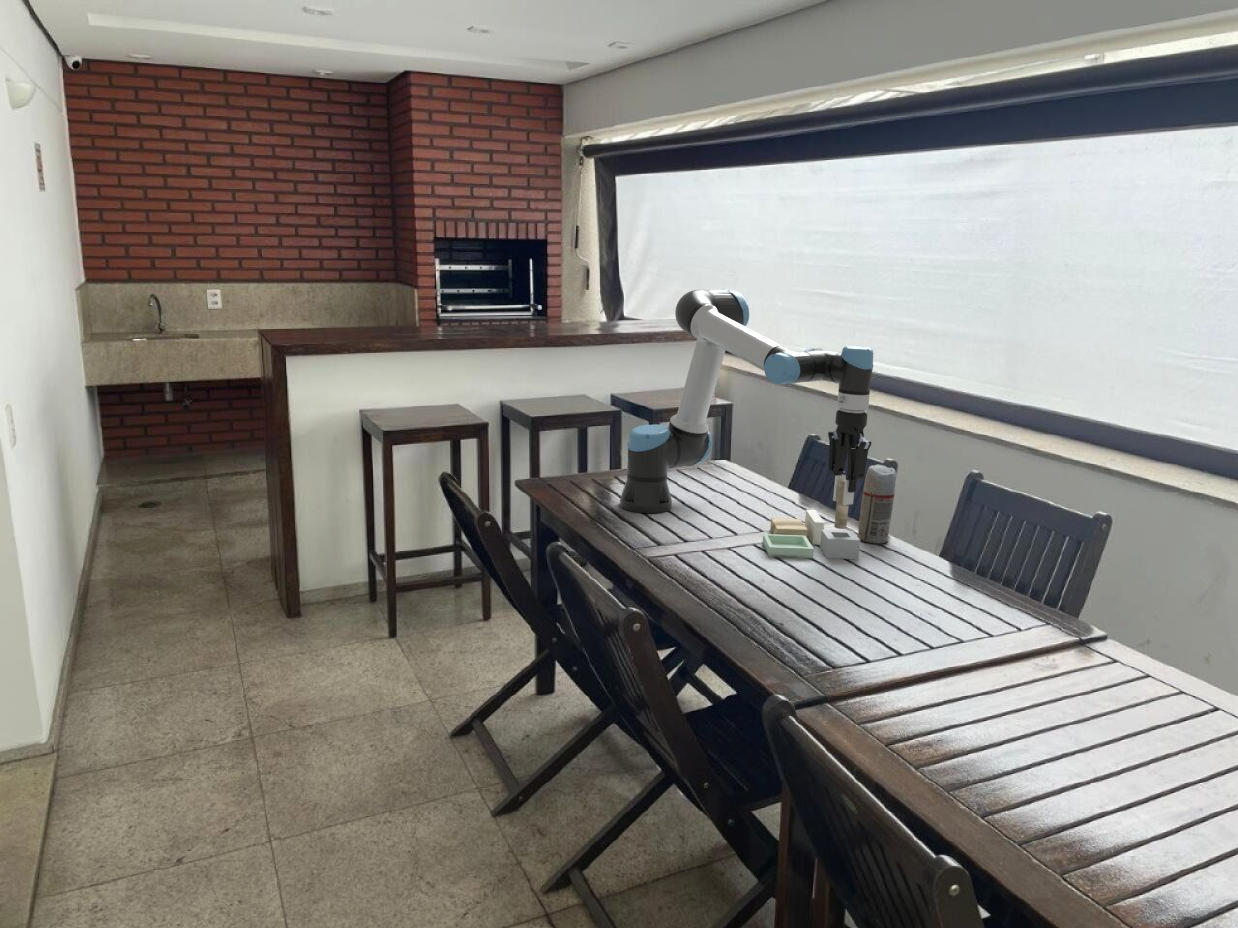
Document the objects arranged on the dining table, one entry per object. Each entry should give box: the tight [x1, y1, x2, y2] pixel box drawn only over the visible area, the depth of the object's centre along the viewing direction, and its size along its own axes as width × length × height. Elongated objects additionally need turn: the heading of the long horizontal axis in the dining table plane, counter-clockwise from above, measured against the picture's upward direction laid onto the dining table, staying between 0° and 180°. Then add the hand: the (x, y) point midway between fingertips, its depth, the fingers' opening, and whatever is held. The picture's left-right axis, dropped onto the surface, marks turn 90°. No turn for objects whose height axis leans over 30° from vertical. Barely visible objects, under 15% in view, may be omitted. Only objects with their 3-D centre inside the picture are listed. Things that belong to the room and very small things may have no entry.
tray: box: [762, 533, 815, 559], centre depth 246 cm, size 11×11×2 cm
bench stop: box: [804, 509, 825, 546], centre depth 257 cm, size 12×2×6 cm, turn 0°
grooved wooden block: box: [769, 517, 808, 538], centre depth 257 cm, size 10×8×4 cm
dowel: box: [833, 480, 850, 530], centre depth 242 cm, size 3×3×12 cm
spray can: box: [857, 463, 897, 544], centre depth 256 cm, size 8×8×20 cm
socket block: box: [819, 529, 861, 560], centre depth 245 cm, size 8×8×5 cm
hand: (842, 502), depth 242 cm, fingers closed on dowel, 3 cm apart
